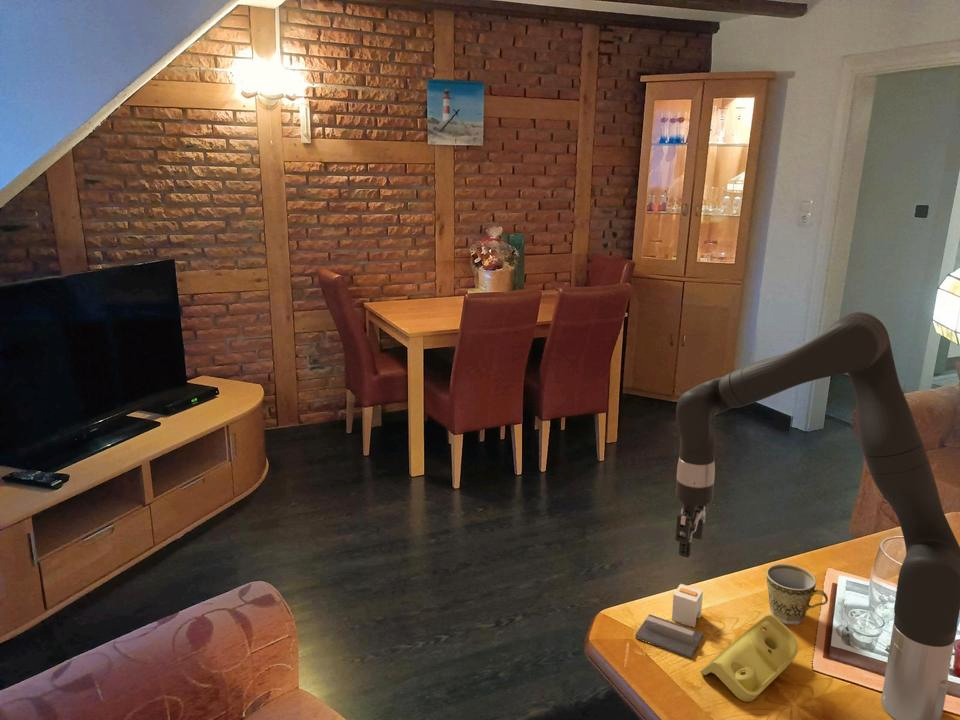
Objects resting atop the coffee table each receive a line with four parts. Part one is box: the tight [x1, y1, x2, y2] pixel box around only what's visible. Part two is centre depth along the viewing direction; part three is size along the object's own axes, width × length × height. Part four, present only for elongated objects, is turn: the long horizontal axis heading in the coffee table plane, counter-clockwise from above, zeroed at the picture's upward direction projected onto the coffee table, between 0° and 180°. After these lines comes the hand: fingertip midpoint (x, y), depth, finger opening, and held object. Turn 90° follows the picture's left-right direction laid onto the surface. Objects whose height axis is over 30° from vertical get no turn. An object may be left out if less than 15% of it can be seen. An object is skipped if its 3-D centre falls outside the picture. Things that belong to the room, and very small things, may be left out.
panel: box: [635, 614, 704, 659], centre depth 148 cm, size 12×8×3 cm, turn 56°
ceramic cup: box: [766, 563, 829, 626], centre depth 152 cm, size 13×10×10 cm
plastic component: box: [699, 613, 799, 703], centre depth 138 cm, size 20×7×10 cm
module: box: [671, 583, 704, 628], centre depth 154 cm, size 5×5×7 cm
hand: (690, 546), depth 150 cm, fingers open, 8 cm apart
